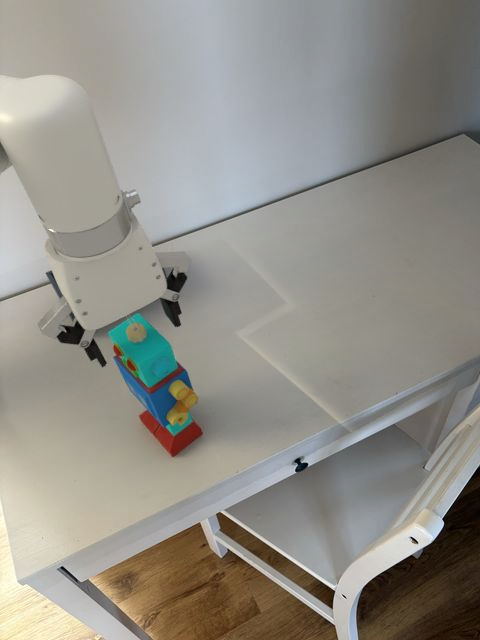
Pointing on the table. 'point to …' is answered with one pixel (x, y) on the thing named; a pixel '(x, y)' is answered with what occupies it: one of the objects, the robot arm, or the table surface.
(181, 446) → the toy robot
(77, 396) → the table surface
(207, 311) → the table surface
